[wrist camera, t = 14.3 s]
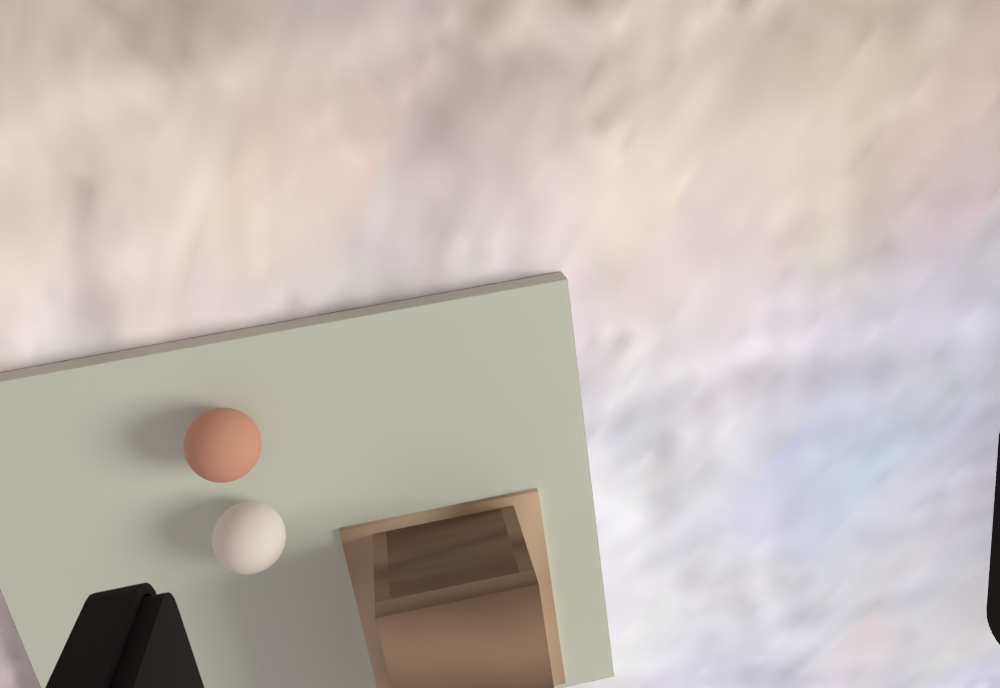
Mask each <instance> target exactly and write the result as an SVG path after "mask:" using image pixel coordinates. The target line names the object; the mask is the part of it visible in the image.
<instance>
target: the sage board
mask: <svg viewBox="0 0 1000 688" xmlns="http://www.w3.org/2000/svg"><path fill="white" fill-rule="evenodd" d="M215 408H232V409H236V410H239V411H241V412H243V413H245V414H246V415H248V416H249V417H250V418H251V419H252V420H253V421H254V423H255V424H256V425H257V427H258V429H259V432H260V435H261V440H262V447H261V453H260V456H259V459H258V461H257V463H256V464H255V466H254V467H253V468H252V469H251V471H249V472H248V473H247V474H246V475H244V476H243V477H241V478H239V479H237V480H235V481H231V482H225V483H218V482H211V481H208V480H206V479H203V478H202V477H200V476H199V475H197V474H196V473H195V472H194V471H193V470H192V469H191V468H190V466H189V465H188V463H187V461H186V458H185V455H184V438H185V434H186V432H187V430H188V428H189V426H190V425H191V423H192V422H193V421H194V420H195V419H196V418H197V417H198V416H200V415H201V414H203V413H204V412H206V411H209V410H212V409H215ZM535 488H537V489H538V492H539V499H540V506H541V513H542V520H543V527H544V534H545V541H546V548H547V555H548V562H549V569H550V576H551V583H552V590H553V598H554V605H555V612H556V619H557V626H558V633H559V640H560V647H561V654H562V661H563V668H564V675H565V682H566V683H565V684H561V685H556V686H554V688H564V687H568V686H573V685H577V684H582V683H586V682H591V681H595V680H600V679H604V678H609V677H613V676H614V672H613V663H612V655H611V646H610V638H609V629H608V621H607V612H606V604H605V595H604V587H603V578H602V570H601V561H600V553H599V544H598V535H597V527H596V518H595V510H594V501H593V493H592V484H591V476H590V467H589V459H588V450H587V442H586V433H585V425H584V416H583V408H582V399H581V391H580V382H579V374H578V365H577V357H576V348H575V339H574V331H573V322H572V314H571V305H570V297H569V288H568V280H567V278H566V277H565V276H564V274H563V273H562V272H557V273H552V274H546V275H540V276H535V277H529V278H524V279H518V280H513V281H507V282H502V283H496V284H490V285H485V286H479V287H474V288H468V289H463V290H457V291H451V292H446V293H440V294H435V295H429V296H424V297H418V298H413V299H407V300H401V301H396V302H390V303H385V304H379V305H374V306H368V307H363V308H357V309H351V310H346V311H340V312H335V313H329V314H324V315H318V316H312V317H307V318H301V319H296V320H290V321H285V322H279V323H274V324H268V325H262V326H257V327H251V328H246V329H240V330H235V331H229V332H224V333H218V334H212V335H207V336H201V337H196V338H190V339H185V340H179V341H173V342H168V343H162V344H157V345H151V346H146V347H140V348H135V349H129V350H123V351H118V352H112V353H107V354H101V355H96V356H90V357H85V358H79V359H73V360H68V361H62V362H57V363H51V364H46V365H40V366H34V367H29V368H23V369H18V370H12V371H7V372H1V373H0V590H1V592H2V594H3V597H4V599H5V602H6V604H7V606H8V609H9V611H10V614H11V616H12V619H13V621H14V623H15V626H16V628H17V631H18V633H19V636H20V638H21V640H22V643H23V645H24V648H25V650H26V652H27V655H28V657H29V660H30V662H31V665H32V667H33V669H34V672H35V674H36V677H37V679H38V682H39V684H40V686H41V688H45V687H46V685H47V683H48V681H49V679H50V676H51V674H52V672H53V670H54V668H55V666H56V663H57V661H58V659H59V657H60V655H61V653H62V650H63V648H64V646H65V644H66V642H67V640H68V638H69V635H70V633H71V631H72V629H73V627H74V625H75V622H76V620H77V618H78V616H79V614H80V612H81V609H82V607H83V605H84V603H85V601H86V599H87V598H88V597H89V595H91V594H93V593H96V592H101V591H106V590H111V589H116V588H121V587H126V586H131V585H136V584H141V583H146V582H147V583H149V584H151V586H152V587H153V588H154V590H155V591H156V594H161V593H166V592H169V593H171V594H172V595H173V597H174V598H175V601H176V603H177V606H178V609H179V612H180V615H181V618H182V621H183V624H184V627H185V630H186V633H187V636H188V639H189V642H190V645H191V648H192V651H193V654H194V658H195V661H196V664H197V667H198V670H199V673H200V676H201V679H202V682H203V685H204V688H377V687H376V683H375V679H374V674H373V670H372V666H371V662H370V658H369V654H368V649H367V645H366V641H365V637H364V633H363V629H362V624H361V620H360V616H359V612H358V608H357V604H356V600H355V595H354V591H353V587H352V583H351V579H350V575H349V570H348V566H347V562H346V558H345V554H344V550H343V545H342V541H341V537H340V533H339V528H341V527H346V526H351V525H356V524H361V523H366V522H371V521H376V520H381V519H386V518H391V517H396V516H401V515H406V514H411V513H416V512H421V511H426V510H431V509H436V508H441V507H446V506H451V505H456V504H460V503H465V502H470V501H475V500H480V499H485V498H490V497H495V496H500V495H505V494H510V493H515V492H520V491H525V490H530V489H535ZM246 501H256V502H261V503H264V504H266V505H268V506H270V507H271V508H273V509H274V510H275V511H276V512H277V513H278V514H279V515H280V517H281V518H282V520H283V523H284V525H285V530H286V542H285V546H284V549H283V551H282V553H281V555H280V557H279V558H278V559H277V561H276V562H275V563H274V564H273V565H271V566H270V567H269V568H267V569H265V570H263V571H261V572H258V573H254V574H239V573H236V572H233V571H231V570H229V569H227V568H226V567H224V566H223V565H222V564H221V563H220V562H219V560H218V559H217V557H216V556H215V553H214V551H213V547H212V533H213V529H214V526H215V524H216V522H217V520H218V519H219V517H220V516H221V515H222V513H224V512H225V511H226V510H227V509H228V508H230V507H231V506H233V505H235V504H238V503H241V502H246Z"/></svg>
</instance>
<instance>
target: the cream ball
mask: <svg viewBox="0 0 1000 688" xmlns="http://www.w3.org/2000/svg"><path fill="white" fill-rule="evenodd" d="M285 542H286V530H285V525H284V523H283V520H282V518H281V517H280V515H279V514H278V513H277V512H276V511H275V510H274V509H273V508H271V507H270V506H268V505H266V504H264V503H261V502H256V501H246V502H241V503H238V504H235V505H233V506H231V507H230V508H228V509H227V510H226V511H225V512H224V513H222V515H221V516H220V517H219V519H218V520H217V522H216V524H215V526H214V529H213V533H212V547H213V551H214V553H215V556H216V557H217V559H218V560H219V562H220V563H221V564H222V565H223V566H224V567H226V568H227V569H229V570H231V571H233V572H236V573H239V574H254V573H258V572H261V571H263V570H265V569H267V568H269V567H270V566H271V565H273V564H274V563H275V562H276V561H277V559H278V558H279V557H280V555H281V553H282V551H283V549H284V546H285Z"/></svg>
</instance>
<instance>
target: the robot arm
mask: <svg viewBox="0 0 1000 688" xmlns="http://www.w3.org/2000/svg"><path fill="white" fill-rule="evenodd" d="M987 619H988V623H989V627H990V629H991V631H992V634H993V635H994V637H995V639H996V640H997V642H998V643H999V644H1000V433H999V444H998V458H997V472H996V486H995V500H994V514H993V528H992V543H991V557H990V571H989V585H988V599H987ZM45 688H204V685H203V682H202V679H201V676H200V673H199V670H198V667H197V664H196V661H195V658H194V654H193V651H192V648H191V645H190V642H189V639H188V636H187V633H186V630H185V627H184V624H183V621H182V618H181V615H180V612H179V609H178V606H177V603H176V601H175V598H174V597H173V595H172V594H171V593H169V592H166V593H161V594H156V591H155V590H154V588H153V587H152V586H151V584H149V583H147V582H146V583H141V584H136V585H131V586H126V587H121V588H116V589H111V590H106V591H101V592H96V593H93V594H91V595H89V597H88V598H87V599H86V601H85V603H84V605H83V607H82V609H81V612H80V614H79V616H78V618H77V620H76V622H75V625H74V627H73V629H72V631H71V633H70V635H69V638H68V640H67V642H66V644H65V646H64V648H63V650H62V653H61V655H60V657H59V659H58V661H57V663H56V666H55V668H54V670H53V672H52V674H51V676H50V679H49V681H48V683H47V685H46V687H45Z"/></svg>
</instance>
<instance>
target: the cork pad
mask: <svg viewBox="0 0 1000 688" xmlns="http://www.w3.org/2000/svg"><path fill="white" fill-rule="evenodd" d="M509 506H514V508H515V511H516V514H517V518H518V521H519V524H520V527H521V530H522V533H523V536H524V539H525V543H526V546H527V549H528V552H529V555H530V558H531V561H532V564H533V568H534V571H535V574H536V577H537V580H538V583H539V589H540V596H541V602H542V609H543V616H544V623H545V630H546V636H547V643H548V650H549V657H550V663H551V670H552V677H553V684H554V686H556V685H561V684H565V683H566V682H565V675H564V668H563V661H562V654H561V647H560V640H559V633H558V626H557V619H556V612H555V605H554V598H553V590H552V583H551V576H550V569H549V562H548V555H547V548H546V541H545V534H544V527H543V520H542V513H541V506H540V499H539V492H538V489H537V488H535V489H530V490H525V491H520V492H515V493H510V494H505V495H500V496H495V497H490V498H485V499H480V500H475V501H470V502H465V503H460V504H456V505H451V506H446V507H441V508H436V509H431V510H426V511H421V512H416V513H411V514H406V515H401V516H396V517H391V518H386V519H381V520H376V521H371V522H366V523H361V524H356V525H351V526H346V527H341V528H339V533H340V537H341V541H342V545H343V550H344V554H345V558H346V562H347V566H348V570H349V575H350V579H351V583H352V587H353V591H354V595H355V600H356V604H357V608H358V612H359V616H360V620H361V624H362V629H363V633H364V637H365V641H366V645H367V649H368V654H369V658H370V662H371V666H372V670H373V674H374V679H375V683H376V687H377V688H391V684H390V680H389V676H388V671H387V667H386V663H385V658H384V654H383V650H382V645H381V641H380V637H379V632H378V628H377V624H376V620H375V593H374V561H373V534H375V533H380V532H385V531H390V530H395V529H400V528H405V527H410V526H415V525H420V524H424V523H429V522H434V521H439V520H444V519H449V518H454V517H459V516H464V515H469V514H474V513H479V512H484V511H489V510H494V509H499V508H504V507H509Z"/></svg>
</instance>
